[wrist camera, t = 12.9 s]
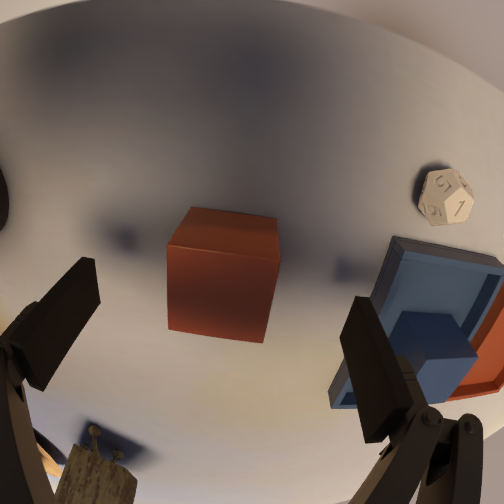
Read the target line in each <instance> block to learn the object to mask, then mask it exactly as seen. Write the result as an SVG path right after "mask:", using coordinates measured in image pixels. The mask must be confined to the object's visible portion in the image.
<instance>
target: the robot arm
mask: <svg viewBox="0 0 504 504" xmlns="http://www.w3.org/2000/svg"><path fill="white" fill-rule="evenodd" d="M100 303H101V302H100V296H99V290H98V283H97V276H96V268H95V260H94V259H92V258H87V257H81V258H80V259H79V260H78V261H77V262H76V263H75V264H74V265H73V266H72V267H71V268H70V269H69V270H68V271H67V272H66V274H65V275H64V276H63V277H62V278H61V279H60V280H59V281H58V282H57V283H56V284H55V285H54V286H53V287H52V288H51V289H50V290H49V291H48V293H47V294H46V295H45V296H44V297H43V298H42V299H41V300H40V301H39V302H36V301H34V302H33V303H31V304H29V305H28V306H26V307H25V308H24V309H23V311H22V312H21V313H20V315H18V316H17V317H16V318H15V320H14V321H13V322H12V323H11V324H10V325H9V327H8V328H7V329H6V330H5V331H4V332H3V334H2V335H1V336H0V504H58V502H57V500H56V498H55V495H54V493H53V490H52V488H51V485H50V482H49V480H48V477H47V474H46V471H45V468H44V465H43V462H42V459H41V456H40V453H39V449H38V446H37V442H36V439H35V435H34V431H33V427H32V423H31V419H30V414H29V410H28V405H27V400H26V395H25V389H24V386H23V384H22V382H23V380H24V379H25V378H26V380H27V381H28V383H29V385H30V386H31V387H33V388H35V389H38V390H40V391H42V392H43V391H44V390H45V388H46V386H47V385H48V383H49V381H50V380H51V378H52V376H53V375H54V373H55V371H56V370H57V368H58V366H59V365H60V363H61V362H62V360H63V358H64V357H65V355H66V354H67V352H68V351H69V349H70V347H71V346H72V344H73V343H74V341H75V340H76V338H77V337H78V335H79V334H80V332H81V331H82V329H83V328H84V326H85V325H86V323H87V322H88V320H89V319H90V317H91V316H92V314H93V313H94V312H95V310H96V309H97V307H98V306H99V304H100ZM339 338H340V342H341V345H342V349H343V353H344V357H345V360H346V364H347V368H348V372H349V376H350V380H351V384H352V388H353V392H354V396H355V400H356V405H357V409H358V413H359V418H360V422H361V427H362V431H363V436H364V440H365V444H367V443H379V442H382V441H383V440H384V439H385V438H386V437H387V436H388V435H389V439H390V443H389V444H388V445H387V446H386V447H385V448H384V449H383V450H382V451H381V452H380V453H379V455H381V456H380V458H379V460H378V461H377V463H376V464H375V466H374V467H373V469H372V471H371V472H370V474H369V475H368V477H367V478H366V479H365V481H364V482H363V484H362V485H361V487H360V488H359V490H358V491H357V492H356V494H355V495H354V496H353V498H352V499H351V501H350V502H349V503H348V504H409V502H410V500H411V498H412V497H413V495H414V493H415V491H416V489H417V487H418V485H419V483H420V481H421V483H420V488H419V492H418V497H417V501H416V504H480V497H481V486H482V470H483V427H482V423H481V421H480V420H479V419H478V418H477V417H476V416H475V415H473V414H464V415H462V416H461V418H460V419H459V420H458V421H457V420H451V419H446V418H443V416H442V415H441V413H440V412H439V411H438V410H437V409H435V408H433V407H430V406H429V405H428V403H427V401H426V398H425V396H424V393H423V391H422V389H421V386H420V384H419V381H417V377H416V375H415V374H414V370H413V368H412V365H411V363H410V362H409V361H408V360H407V359H406V358H405V357H404V356H403V355H395V354H394V351H393V349H392V347H391V344H390V342H389V340H388V337H387V335H386V333H385V331H384V328H383V326H382V324H381V322H380V320H379V317H378V315H377V313H376V311H375V309H374V307H373V304H372V302H371V300H370V298H369V297H360V296H355V299H354V301H353V304H352V307H351V309H350V312H349V315H348V317H347V320H346V322H345V325H344V327H343V330H342V333H341V335H340V337H339Z"/></svg>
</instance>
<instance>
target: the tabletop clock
mask: <svg viewBox="0 0 504 504" xmlns="http://www.w3.org/2000/svg"><path fill="white" fill-rule="evenodd" d="M88 431H89V434H90V435H91V436H92V449H91V452H89V449H88V447H87V446H86V445H81V446H78V445H76V444H74V445H73V447H72V450H71V452H70V455H69V457H68V460H67V463H66V465H65V468H64V470H63V473H62V476H61V479H60V481H59V484H58V487H57V490H56V492H55V498H56V500H57V502H58V504H133V502H134V498H135V493H136V488H137V479H136V478H135V477H134V476H133V475H132V474H131V473H130V472H129V471H128V470H127V469H126V468H124V467H122V466H119V465H117V464H115V462H116V460H121V459H122V458H123V456H124V455H123V452H122V451H120V450H115V451H114V452H113V457H114V458H113V459H112V460H111V461H108V460H106V459H104V458H102V457H101V456H100V454H99V451H98V447H97V440H96V437H97V436H99V434H100V430H99V428H98V427H97V426H95V425H92V426H90V427H89V428H88Z"/></svg>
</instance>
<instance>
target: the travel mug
mask: <svg viewBox="0 0 504 504" xmlns="http://www.w3.org/2000/svg"><path fill="white" fill-rule="evenodd" d="M7 215H8V195H7V189H6V185H5V181H4V178H3V175H2V173H1V171H0V230H1V229H2V228H3V226H4V224H5V222H6V219H7Z"/></svg>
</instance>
